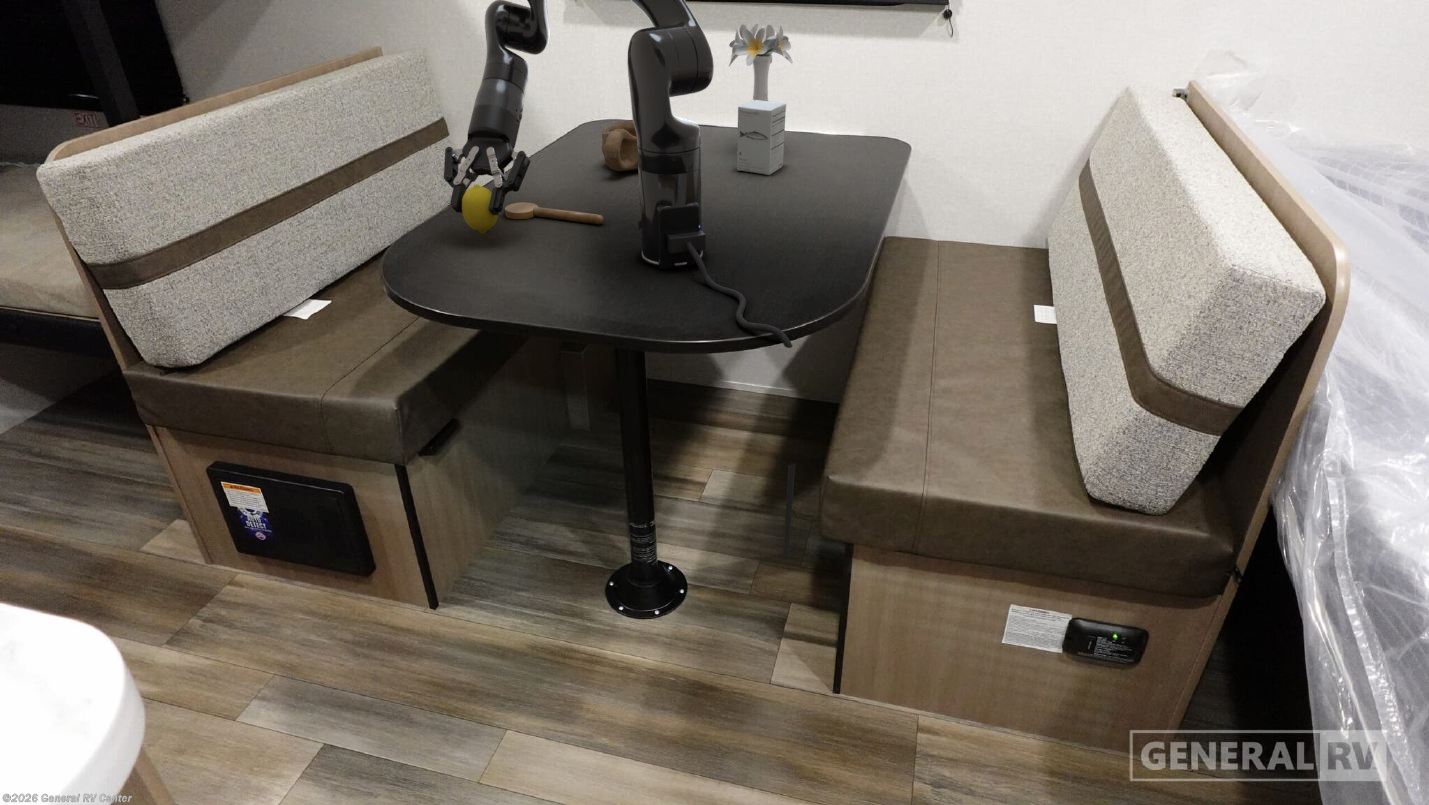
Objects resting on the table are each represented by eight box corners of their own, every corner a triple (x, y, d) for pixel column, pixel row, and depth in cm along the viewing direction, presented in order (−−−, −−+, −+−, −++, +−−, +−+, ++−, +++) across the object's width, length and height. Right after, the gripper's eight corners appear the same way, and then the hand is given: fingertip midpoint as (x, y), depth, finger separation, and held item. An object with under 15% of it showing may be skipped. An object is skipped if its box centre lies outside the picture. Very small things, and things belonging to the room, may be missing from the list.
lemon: (496, 239, 139) (489, 189, 135) (462, 239, 139) (453, 190, 135) (504, 227, 144) (497, 179, 140) (471, 227, 144) (463, 179, 140)
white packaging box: (735, 171, 176) (736, 105, 169) (751, 161, 181) (752, 98, 175) (769, 176, 173) (771, 109, 166) (784, 166, 178) (787, 102, 172)
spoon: (610, 219, 151) (610, 210, 151) (595, 230, 147) (595, 220, 146) (516, 207, 157) (515, 198, 156) (499, 217, 153) (498, 208, 152)
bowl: (666, 175, 168) (650, 123, 164) (599, 192, 172) (581, 142, 167) (681, 149, 183) (667, 101, 179) (619, 165, 187) (603, 119, 182)
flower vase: (778, 135, 199) (782, 16, 186) (795, 158, 183) (800, 29, 171) (721, 137, 198) (721, 17, 185) (733, 160, 182) (734, 30, 169)
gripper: (445, 100, 139) (421, 197, 135) (530, 104, 137) (508, 203, 133) (465, 126, 146) (443, 219, 143) (546, 130, 144) (526, 225, 140)
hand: (475, 211), depth 138 cm, fingers closed on lemon, 5 cm apart
